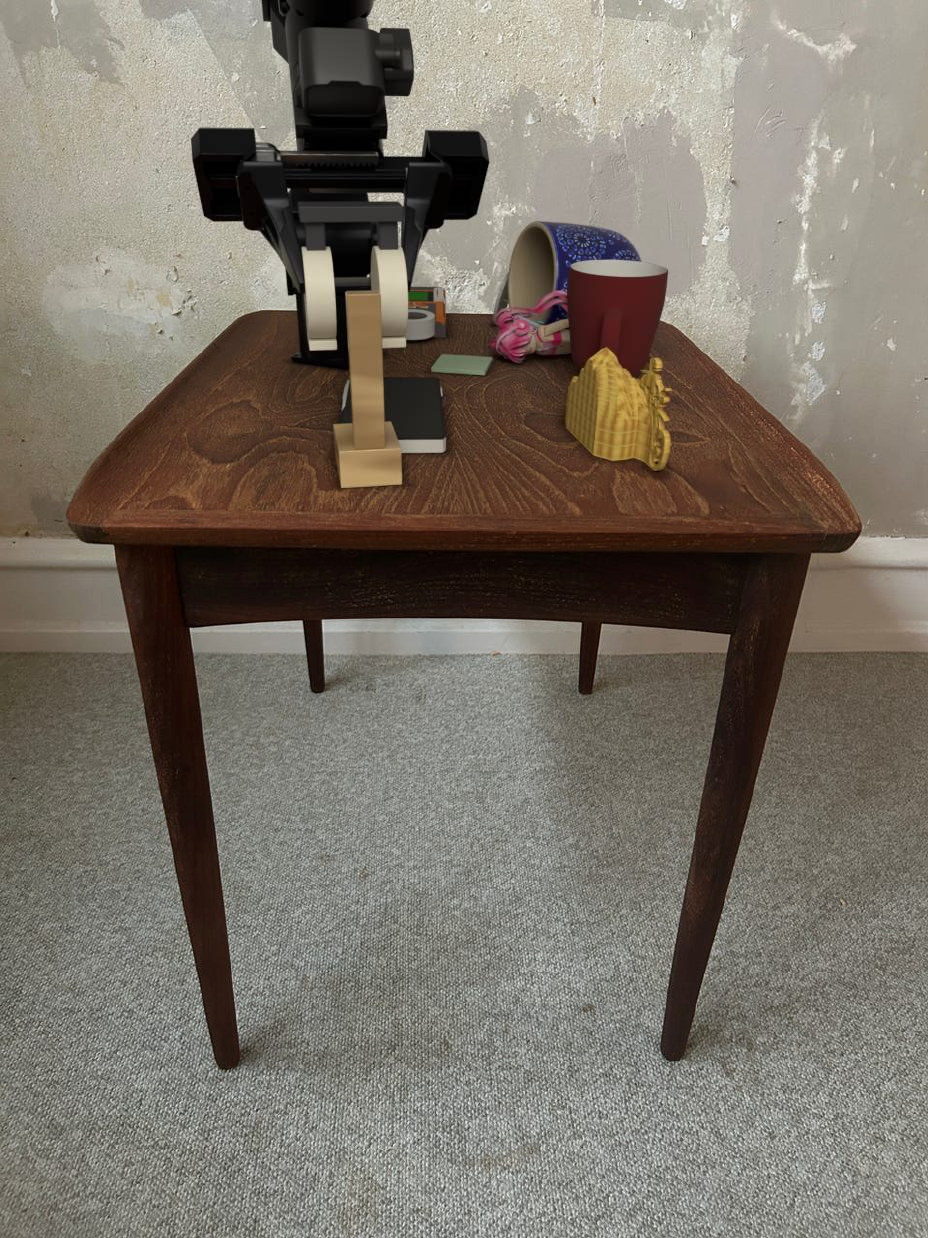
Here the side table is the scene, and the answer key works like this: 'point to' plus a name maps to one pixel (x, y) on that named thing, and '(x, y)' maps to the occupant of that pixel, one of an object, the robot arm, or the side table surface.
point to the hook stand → (366, 402)
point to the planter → (557, 262)
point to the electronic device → (426, 313)
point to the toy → (532, 331)
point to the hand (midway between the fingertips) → (355, 288)
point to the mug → (615, 310)
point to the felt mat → (462, 364)
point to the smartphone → (410, 412)
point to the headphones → (384, 269)
